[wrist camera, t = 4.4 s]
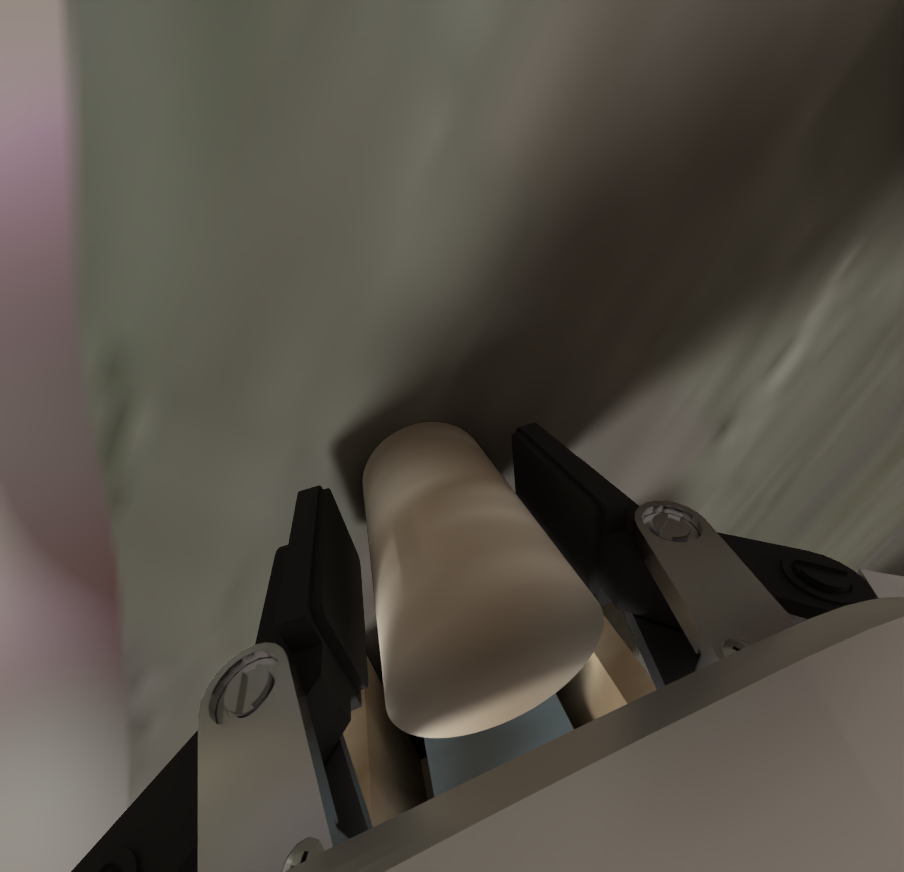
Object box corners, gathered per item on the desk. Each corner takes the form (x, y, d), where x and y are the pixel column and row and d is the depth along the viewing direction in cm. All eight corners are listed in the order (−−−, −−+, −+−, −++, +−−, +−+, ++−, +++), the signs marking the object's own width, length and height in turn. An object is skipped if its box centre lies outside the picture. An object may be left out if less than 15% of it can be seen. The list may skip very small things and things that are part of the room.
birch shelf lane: (567, 566, 15) (714, 761, 9) (564, 702, 22) (649, 868, 16) (331, 657, 13) (326, 973, 7) (405, 776, 20) (433, 996, 14)
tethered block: (491, 402, 10) (640, 539, 5) (521, 683, 19) (587, 838, 14) (327, 447, 9) (313, 665, 4) (436, 720, 18) (474, 901, 13)
